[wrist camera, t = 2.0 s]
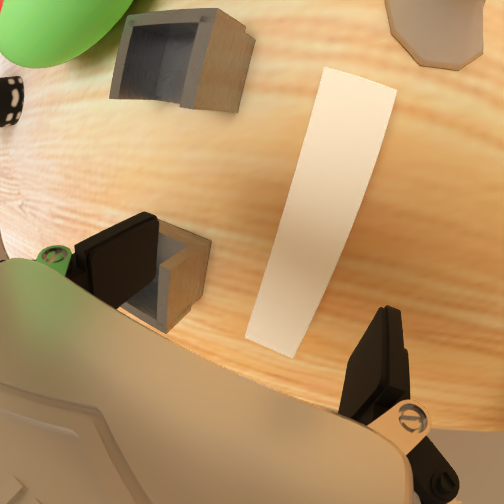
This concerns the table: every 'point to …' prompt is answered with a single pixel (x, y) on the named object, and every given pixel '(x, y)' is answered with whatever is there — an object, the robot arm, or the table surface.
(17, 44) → the toy bird
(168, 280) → the bracket
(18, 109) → the white-spotted black cylinder
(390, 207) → the table surface
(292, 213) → the rail
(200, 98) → the bracket
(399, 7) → the flask
